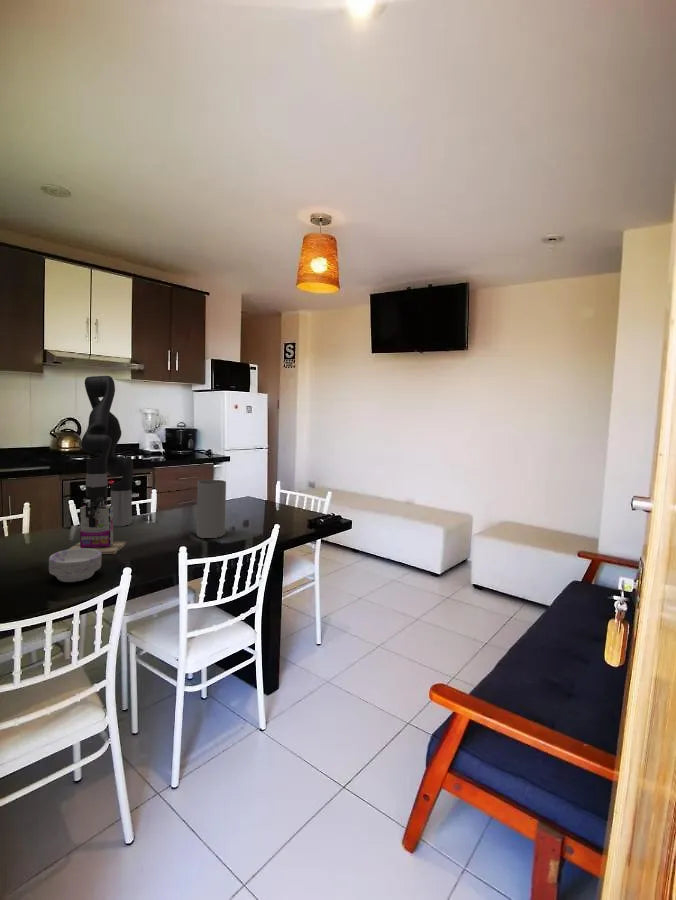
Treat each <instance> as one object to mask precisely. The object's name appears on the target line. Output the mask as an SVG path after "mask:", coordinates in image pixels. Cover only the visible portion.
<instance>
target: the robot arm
mask: <svg viewBox="0 0 676 900" xmlns="http://www.w3.org/2000/svg"><path fill="white" fill-rule="evenodd" d="M84 388H85V393H86V394H87V397H88V400H89V403H90V406H91V409H92V410H91V411H90V413H89V417H88V425H87V429H86V431H85V433H84V434H83V436H82V438H81V440H80V447H81V449H82V450H83V451H84V452H85V453H101V454H100V455H99V456H97V457H91V458H88V459H87V460H86V477H85V496H86V497H87V498H89V501H85V506H86V517H88V518H89V527H93V528H94V527H95V526H96V522H95V517H96V513H98V511H99V507H100V506H101V505H108V475H110V476H112V477H113V476H115V477H121V480H120V481H117V482H114V483H111V485H110V505H113V527H126V525H128V526H130V524H131V523H132V524H133V522H132V515H133V514H132V512H133V511H132V510H133V509H132V508H133V503H132V502H133V498H132V497H133V495H132V492H133V491H132V490H133V488H132V487H133V479H134V478H133V476H134V475H133V474H134V462H133V459H132V458H131V457H129V456H116V450H115V449H116V447H117V445H118V443H119V441H120V440H121V437H122V429H121V425H120V421H119V419H118V418H117V417H116V416H115V414H114V413H112V412H111V409H112V405H113V401H114V397H115V394H116V385H115V381H114V378H113V377H112V376H111V375H93V376H87V377H85V379H84ZM100 399H101V400H100ZM107 474H108V475H107ZM88 512H89V513H88ZM132 524H131V525H132Z"/></svg>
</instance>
